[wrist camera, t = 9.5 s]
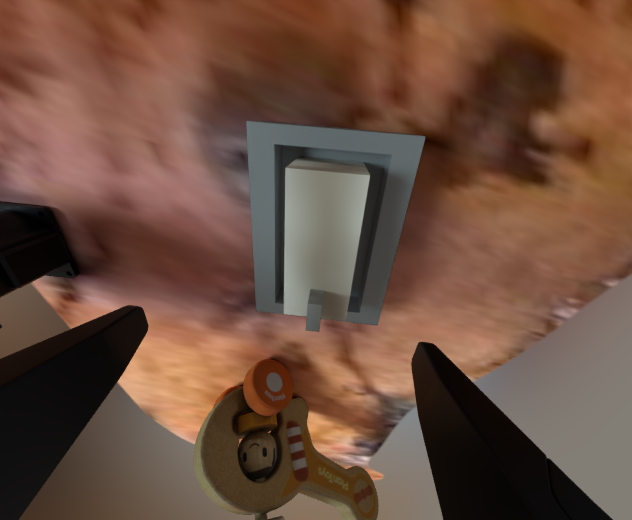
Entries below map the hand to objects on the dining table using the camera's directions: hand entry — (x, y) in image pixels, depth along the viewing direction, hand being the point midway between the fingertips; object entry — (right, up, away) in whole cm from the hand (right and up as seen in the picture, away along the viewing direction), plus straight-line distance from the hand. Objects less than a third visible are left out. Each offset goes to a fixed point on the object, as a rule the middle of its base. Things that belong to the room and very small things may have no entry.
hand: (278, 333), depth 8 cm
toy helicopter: (-1, -14, +22) cm, 26 cm away
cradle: (+2, +5, +11) cm, 12 cm away
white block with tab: (+2, +5, +10) cm, 11 cm away
